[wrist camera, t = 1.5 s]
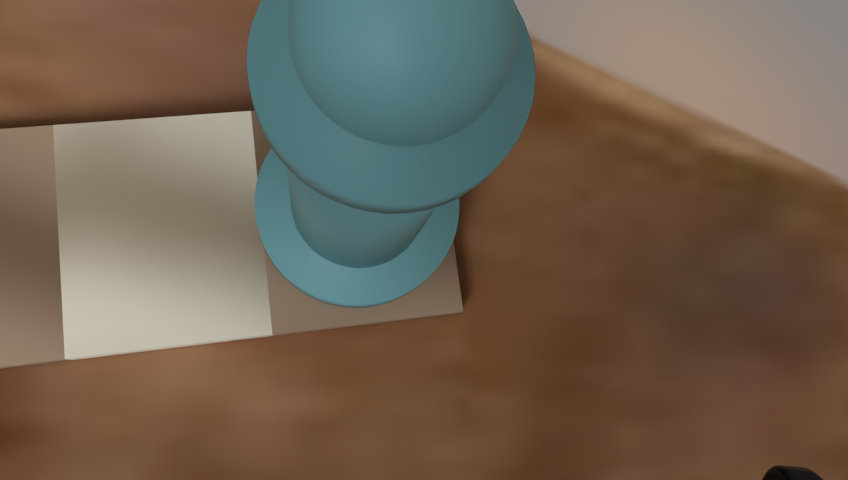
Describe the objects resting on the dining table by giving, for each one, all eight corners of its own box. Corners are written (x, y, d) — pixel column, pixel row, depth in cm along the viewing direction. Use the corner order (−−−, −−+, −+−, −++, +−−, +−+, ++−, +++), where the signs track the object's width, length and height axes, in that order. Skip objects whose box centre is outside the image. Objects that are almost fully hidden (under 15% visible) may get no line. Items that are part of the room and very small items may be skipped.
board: (459, 313, 21) (463, 311, 20) (-387, 415, 18) (-410, 416, 17) (430, 105, 22) (433, 97, 21) (-375, 164, 19) (-397, 157, 18)
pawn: (464, 295, 20) (673, 173, 9) (267, 319, 20) (200, 218, 8) (439, 110, 21) (596, -229, 10) (248, 125, 20) (163, -229, 9)
